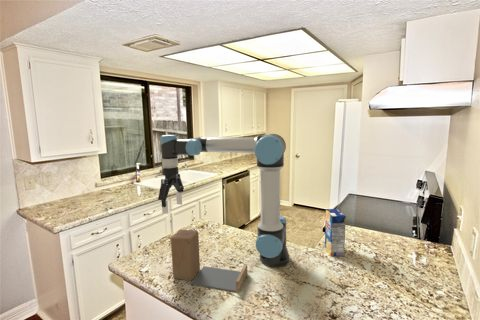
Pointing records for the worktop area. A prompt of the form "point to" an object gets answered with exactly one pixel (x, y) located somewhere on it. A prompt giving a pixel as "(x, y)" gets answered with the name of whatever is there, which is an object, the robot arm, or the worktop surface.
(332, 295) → the worktop surface
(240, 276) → the stop rail
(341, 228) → the beverage box
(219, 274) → the mat
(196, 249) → the wooden block
